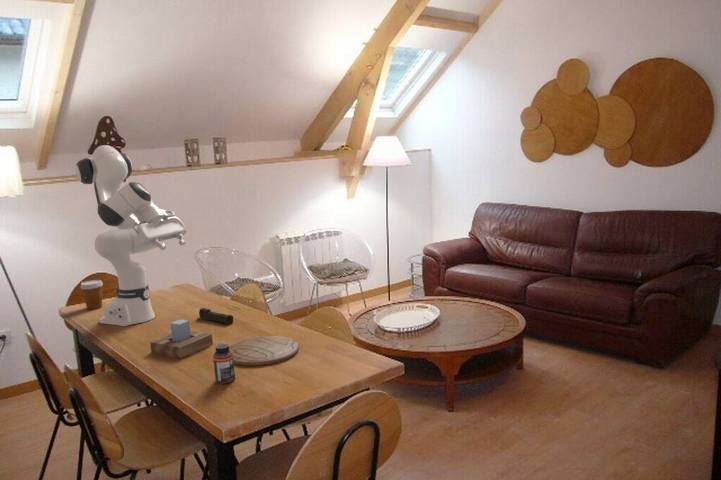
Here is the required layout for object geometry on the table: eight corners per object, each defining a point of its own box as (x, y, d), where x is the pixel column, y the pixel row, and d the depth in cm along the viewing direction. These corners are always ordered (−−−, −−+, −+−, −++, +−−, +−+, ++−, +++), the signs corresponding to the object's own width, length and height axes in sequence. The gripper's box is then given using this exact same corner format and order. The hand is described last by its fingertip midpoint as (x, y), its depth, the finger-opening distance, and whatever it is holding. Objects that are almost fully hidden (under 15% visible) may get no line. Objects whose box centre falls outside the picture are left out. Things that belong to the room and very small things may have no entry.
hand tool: (234, 323, 238) (233, 312, 237) (226, 326, 235) (225, 315, 234) (205, 316, 250) (204, 305, 249) (197, 319, 247) (196, 308, 246)
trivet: (262, 336, 221) (261, 331, 221) (313, 347, 207) (313, 342, 206) (210, 358, 201) (209, 353, 201) (262, 373, 187) (262, 367, 186)
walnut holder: (151, 352, 209) (150, 341, 208) (183, 339, 222) (182, 328, 221) (181, 358, 202) (180, 347, 201) (212, 344, 214) (211, 333, 214)
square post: (173, 349, 211) (170, 322, 209) (182, 345, 215) (180, 319, 213) (182, 351, 209) (179, 324, 207) (191, 347, 212) (189, 320, 211)
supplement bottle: (217, 377, 184) (213, 342, 182) (236, 375, 185) (233, 341, 183) (214, 385, 178) (210, 349, 176) (234, 383, 179) (230, 348, 177)
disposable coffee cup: (100, 310, 266) (96, 284, 264) (79, 311, 266) (75, 285, 264) (109, 304, 276) (106, 279, 273) (89, 305, 276) (85, 280, 274)
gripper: (133, 218, 214) (155, 246, 211) (176, 210, 232) (197, 236, 229) (127, 230, 218) (148, 257, 214) (169, 221, 235) (190, 247, 232)
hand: (173, 246), depth 222 cm, fingers open, 8 cm apart
